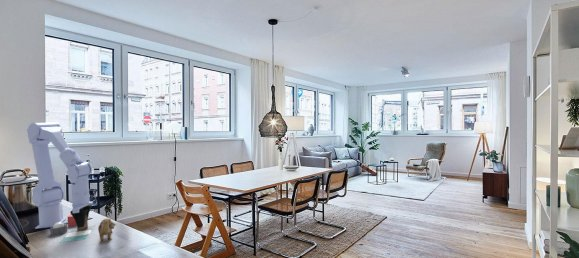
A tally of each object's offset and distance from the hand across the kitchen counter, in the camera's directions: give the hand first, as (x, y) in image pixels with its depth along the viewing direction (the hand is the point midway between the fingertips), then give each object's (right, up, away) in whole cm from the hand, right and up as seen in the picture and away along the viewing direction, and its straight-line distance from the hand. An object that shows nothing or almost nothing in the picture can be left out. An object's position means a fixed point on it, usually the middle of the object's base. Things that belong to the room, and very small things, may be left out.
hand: (82, 225), depth 124 cm
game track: (+2, -2, -5) cm, 5 cm away
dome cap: (-7, -1, -3) cm, 8 cm away
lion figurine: (+16, -2, -10) cm, 19 cm away
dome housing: (-7, -2, -3) cm, 8 cm away
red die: (-8, -2, +6) cm, 10 cm away
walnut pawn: (0, -1, 0) cm, 1 cm away
